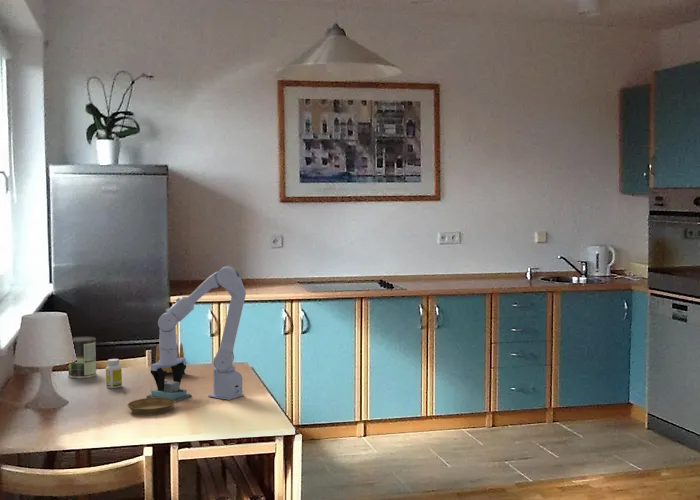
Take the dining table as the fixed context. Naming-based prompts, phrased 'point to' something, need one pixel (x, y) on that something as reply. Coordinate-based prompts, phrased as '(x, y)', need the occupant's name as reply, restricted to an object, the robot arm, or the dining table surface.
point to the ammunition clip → (168, 369)
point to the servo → (171, 386)
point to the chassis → (169, 395)
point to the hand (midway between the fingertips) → (169, 388)
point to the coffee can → (83, 358)
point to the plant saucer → (151, 405)
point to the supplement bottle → (113, 374)
